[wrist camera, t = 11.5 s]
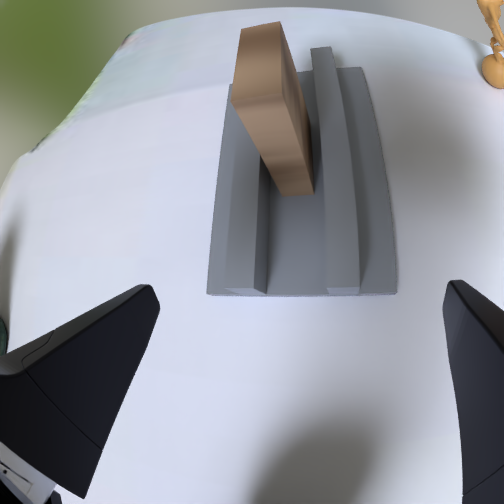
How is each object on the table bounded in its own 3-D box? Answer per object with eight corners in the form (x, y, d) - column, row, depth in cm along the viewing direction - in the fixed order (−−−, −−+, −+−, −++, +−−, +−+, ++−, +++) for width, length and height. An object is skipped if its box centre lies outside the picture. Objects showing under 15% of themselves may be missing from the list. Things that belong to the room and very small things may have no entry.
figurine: (514, 114, 19) (548, 31, 8) (467, 97, 21) (489, 4, 10) (500, 67, 20) (519, -8, 9) (458, 52, 22) (467, -28, 11)
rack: (394, 294, 20) (404, 285, 16) (211, 295, 24) (187, 287, 20) (361, 73, 25) (359, 45, 22) (233, 90, 30) (219, 65, 26)
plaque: (314, 194, 22) (281, 92, 12) (282, 196, 23) (230, 101, 13) (310, 123, 24) (280, 21, 14) (282, 126, 25) (241, 29, 15)
